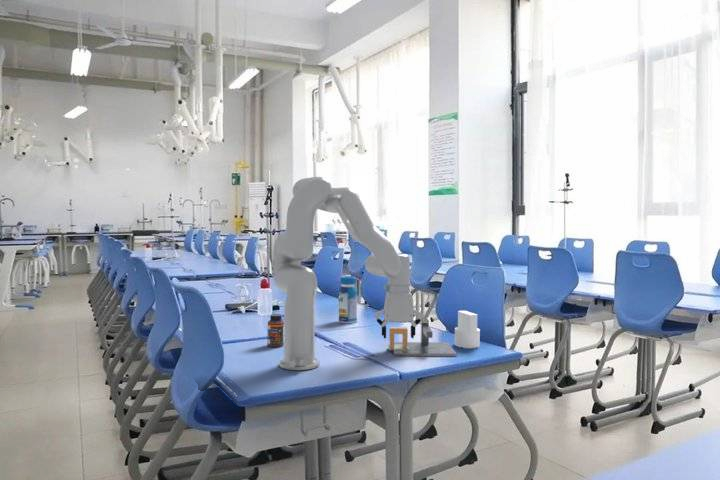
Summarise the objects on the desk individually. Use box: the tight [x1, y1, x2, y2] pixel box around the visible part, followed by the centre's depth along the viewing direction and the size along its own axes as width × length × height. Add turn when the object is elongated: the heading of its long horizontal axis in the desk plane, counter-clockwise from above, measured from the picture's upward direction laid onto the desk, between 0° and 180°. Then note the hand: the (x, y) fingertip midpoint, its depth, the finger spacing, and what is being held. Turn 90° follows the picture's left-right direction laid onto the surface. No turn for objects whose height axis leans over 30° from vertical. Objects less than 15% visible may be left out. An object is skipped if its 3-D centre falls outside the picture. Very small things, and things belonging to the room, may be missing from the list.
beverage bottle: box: [337, 275, 358, 324], centre depth 244 cm, size 8×8×20 cm
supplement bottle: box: [266, 313, 284, 348], centre depth 200 cm, size 6×6×11 cm
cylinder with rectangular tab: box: [454, 310, 481, 349], centre depth 202 cm, size 9×9×12 cm
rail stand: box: [387, 320, 457, 357], centre depth 194 cm, size 16×22×9 cm
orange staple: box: [388, 326, 409, 348], centre depth 194 cm, size 4×6×7 cm, turn 90°
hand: (398, 337), depth 194 cm, fingers open, 9 cm apart
